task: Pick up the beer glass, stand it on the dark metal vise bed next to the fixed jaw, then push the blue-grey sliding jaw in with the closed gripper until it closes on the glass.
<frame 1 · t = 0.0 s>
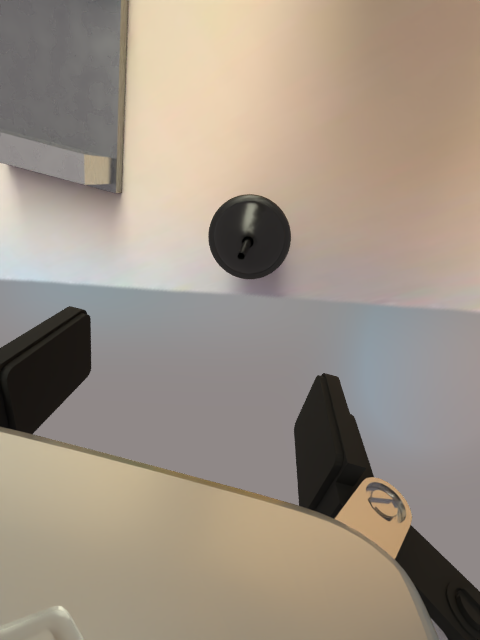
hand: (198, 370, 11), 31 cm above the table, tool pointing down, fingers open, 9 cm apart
drinking cup: (257, 220, 39), on the table
vise base: (58, 55, 33), on the table
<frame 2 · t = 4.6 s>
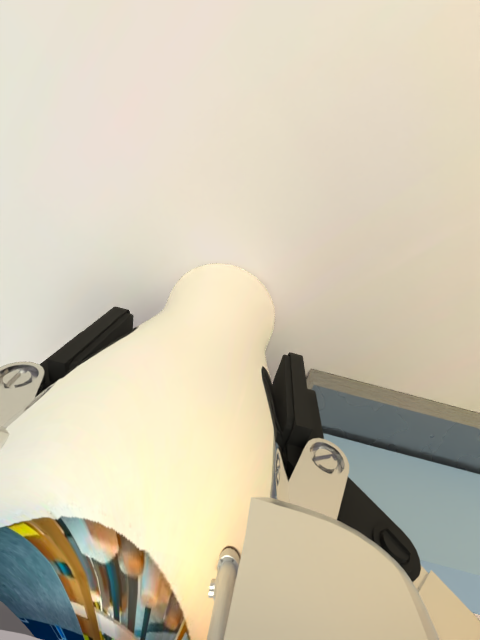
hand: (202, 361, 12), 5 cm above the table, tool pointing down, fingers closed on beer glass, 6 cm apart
beer glass: (222, 313, 16), on the table, touching gripper
vise base: (351, 518, 23), on the table
sliding jaw: (436, 524, 15), point 5 cm above the table, slide at 0.0 cm
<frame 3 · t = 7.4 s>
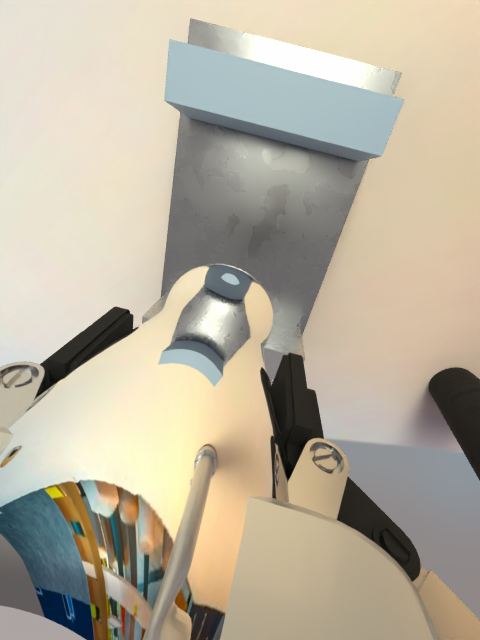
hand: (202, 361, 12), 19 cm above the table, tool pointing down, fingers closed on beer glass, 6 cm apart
drinking cup: (450, 383, 34), on the table
beer glass: (220, 313, 16), point 15 cm above the table, touching gripper
vise base: (254, 223, 28), on the table
sliding jaw: (279, 109, 20), point 5 cm above the table, slide at 0.0 cm
when the fingers open (7 cm above the table, at t = 10.3 s): beer glass stays where it is, resting on vise base.
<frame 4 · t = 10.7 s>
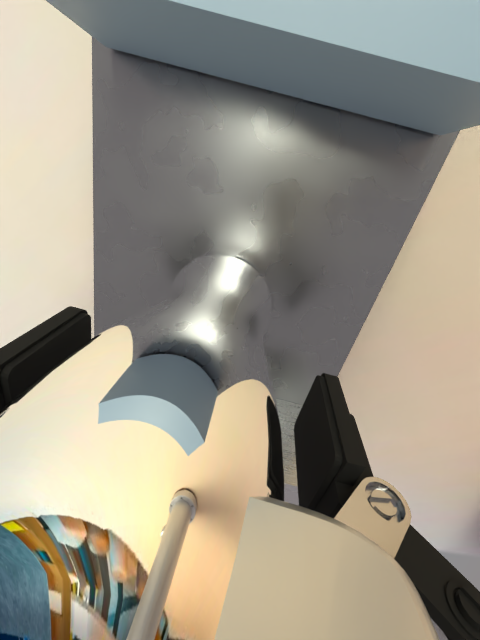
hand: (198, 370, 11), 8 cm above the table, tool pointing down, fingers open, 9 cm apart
beer glass: (222, 303, 17), point 1 cm above the table, touching vise base
vise base: (240, 246, 17), on the table
sliding jaw: (286, 5, 9), point 5 cm above the table, slide at 0.0 cm
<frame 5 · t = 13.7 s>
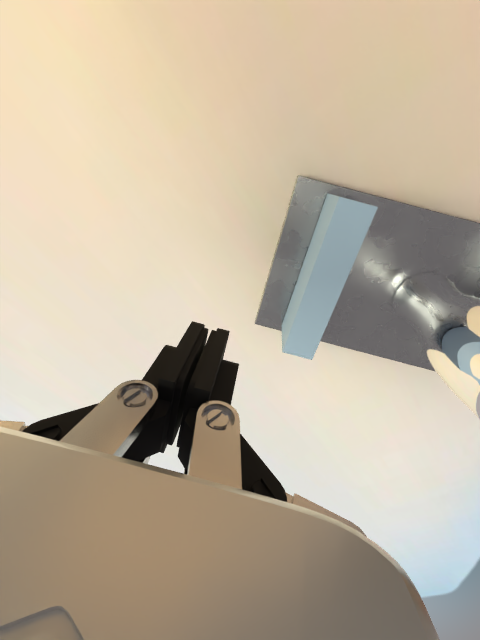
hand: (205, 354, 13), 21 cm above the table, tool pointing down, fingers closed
beer glass: (421, 299, 30), point 1 cm above the table, touching vise base
vise base: (388, 285, 31), on the table
sliding jaw: (319, 279, 27), point 5 cm above the table, slide at 0.0 cm
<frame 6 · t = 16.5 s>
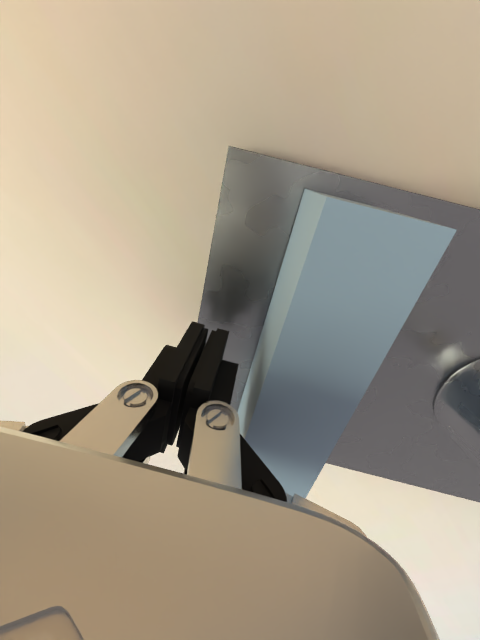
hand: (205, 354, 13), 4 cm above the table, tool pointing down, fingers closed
vise base: (425, 364, 16), on the table
sliding jaw: (290, 380, 12), point 5 cm above the table, slide at 0.4 cm, touching gripper
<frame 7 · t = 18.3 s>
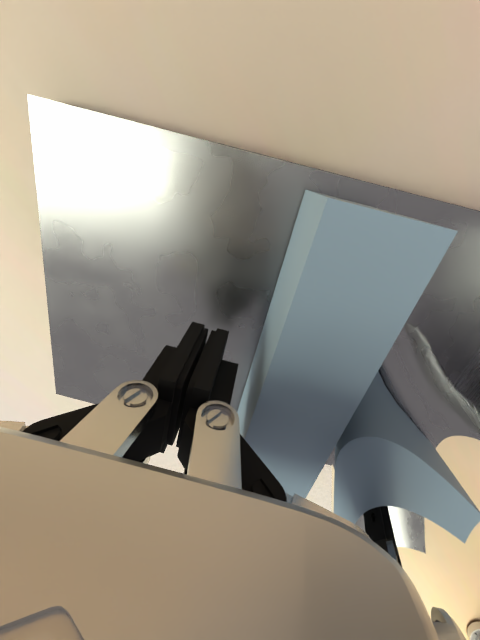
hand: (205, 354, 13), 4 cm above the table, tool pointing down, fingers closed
beer glass: (368, 365, 15), point 1 cm above the table, touching sliding jaw, vise base
vise base: (284, 329, 16), on the table
sliding jaw: (289, 380, 12), point 5 cm above the table, slide at 8.6 cm, touching beer glass, gripper
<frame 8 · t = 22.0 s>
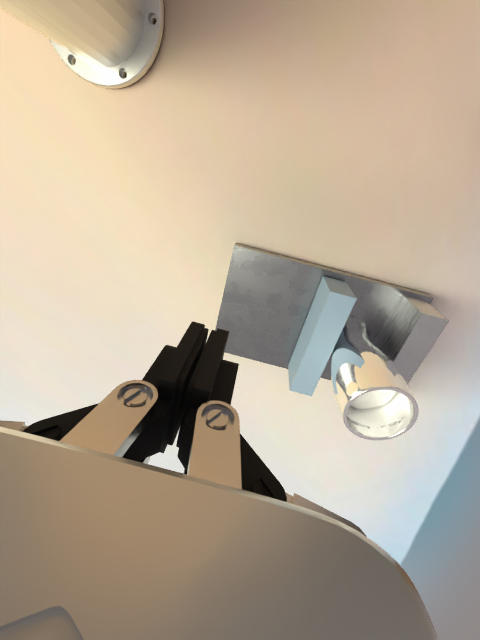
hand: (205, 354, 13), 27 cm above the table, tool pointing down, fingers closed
beer glass: (344, 335, 40), point 1 cm above the table, touching vise base
vise base: (310, 320, 41), on the table
sliding jaw: (317, 337, 37), point 5 cm above the table, slide at 8.8 cm
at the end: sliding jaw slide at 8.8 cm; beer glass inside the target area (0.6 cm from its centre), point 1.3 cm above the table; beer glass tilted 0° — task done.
